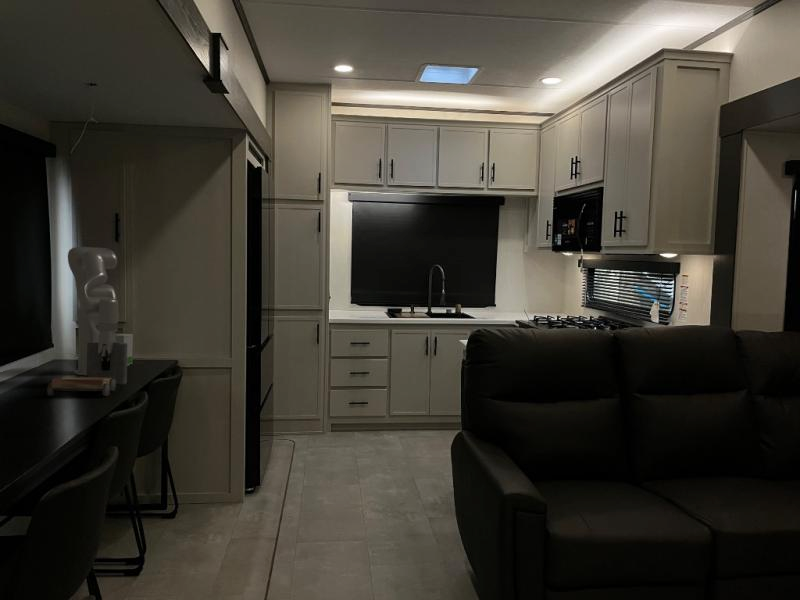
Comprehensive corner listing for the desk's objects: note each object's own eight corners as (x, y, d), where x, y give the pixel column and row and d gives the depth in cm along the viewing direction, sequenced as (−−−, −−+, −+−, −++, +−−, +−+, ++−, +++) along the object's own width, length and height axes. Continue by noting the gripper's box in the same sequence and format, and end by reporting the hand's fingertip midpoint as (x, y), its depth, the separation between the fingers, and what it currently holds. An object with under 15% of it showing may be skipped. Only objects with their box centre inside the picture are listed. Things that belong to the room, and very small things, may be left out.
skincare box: (123, 367, 294) (124, 335, 293) (110, 366, 295) (111, 334, 294) (133, 364, 302) (133, 333, 301) (120, 363, 303) (121, 332, 302)
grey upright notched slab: (85, 384, 254) (86, 337, 252) (88, 382, 258) (89, 336, 256) (125, 384, 257) (126, 338, 256) (127, 382, 261) (128, 337, 260)
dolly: (60, 389, 243) (60, 372, 242) (115, 389, 247) (116, 372, 246) (47, 397, 229) (47, 379, 228) (106, 397, 233) (106, 379, 233)
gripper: (104, 324, 263) (103, 365, 264) (92, 329, 247) (91, 373, 248) (122, 325, 265) (121, 365, 266) (112, 329, 248) (111, 373, 249)
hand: (107, 368), depth 257 cm, fingers closed on grey upright notched slab, 3 cm apart
